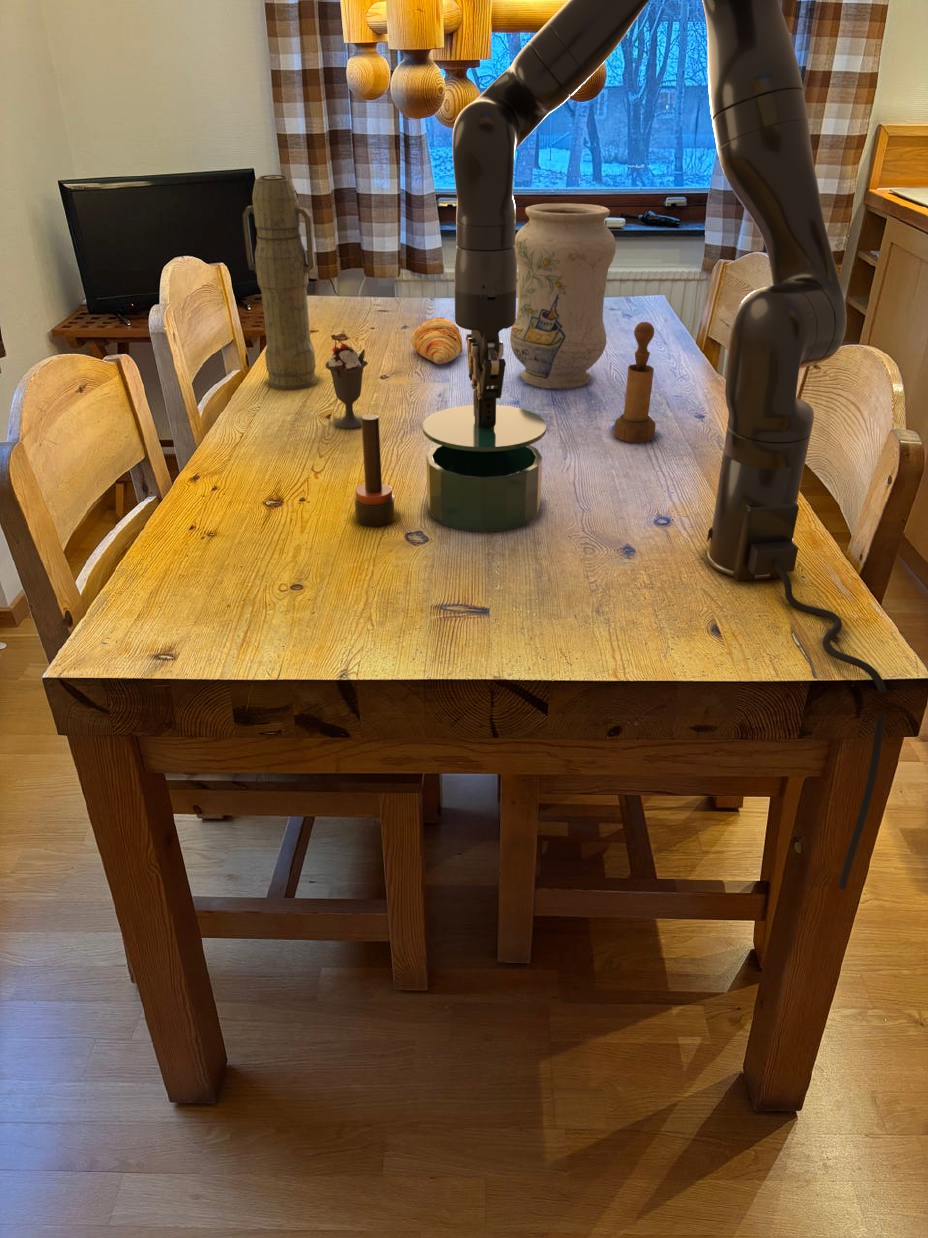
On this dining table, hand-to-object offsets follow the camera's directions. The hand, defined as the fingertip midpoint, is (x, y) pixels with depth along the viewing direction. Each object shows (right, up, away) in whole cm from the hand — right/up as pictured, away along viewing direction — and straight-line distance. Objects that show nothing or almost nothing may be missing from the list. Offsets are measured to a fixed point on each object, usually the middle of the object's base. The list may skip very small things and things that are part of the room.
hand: (484, 421), depth 126 cm
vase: (+15, +19, +56) cm, 61 cm away
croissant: (-8, +28, +70) cm, 76 cm away
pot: (0, -10, +7) cm, 12 cm away
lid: (0, -1, +1) cm, 1 cm away
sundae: (-22, +7, +35) cm, 42 cm away
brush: (-15, -12, +4) cm, 19 cm away
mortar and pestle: (+25, +4, +30) cm, 39 cm away
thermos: (-35, +18, +54) cm, 67 cm away
